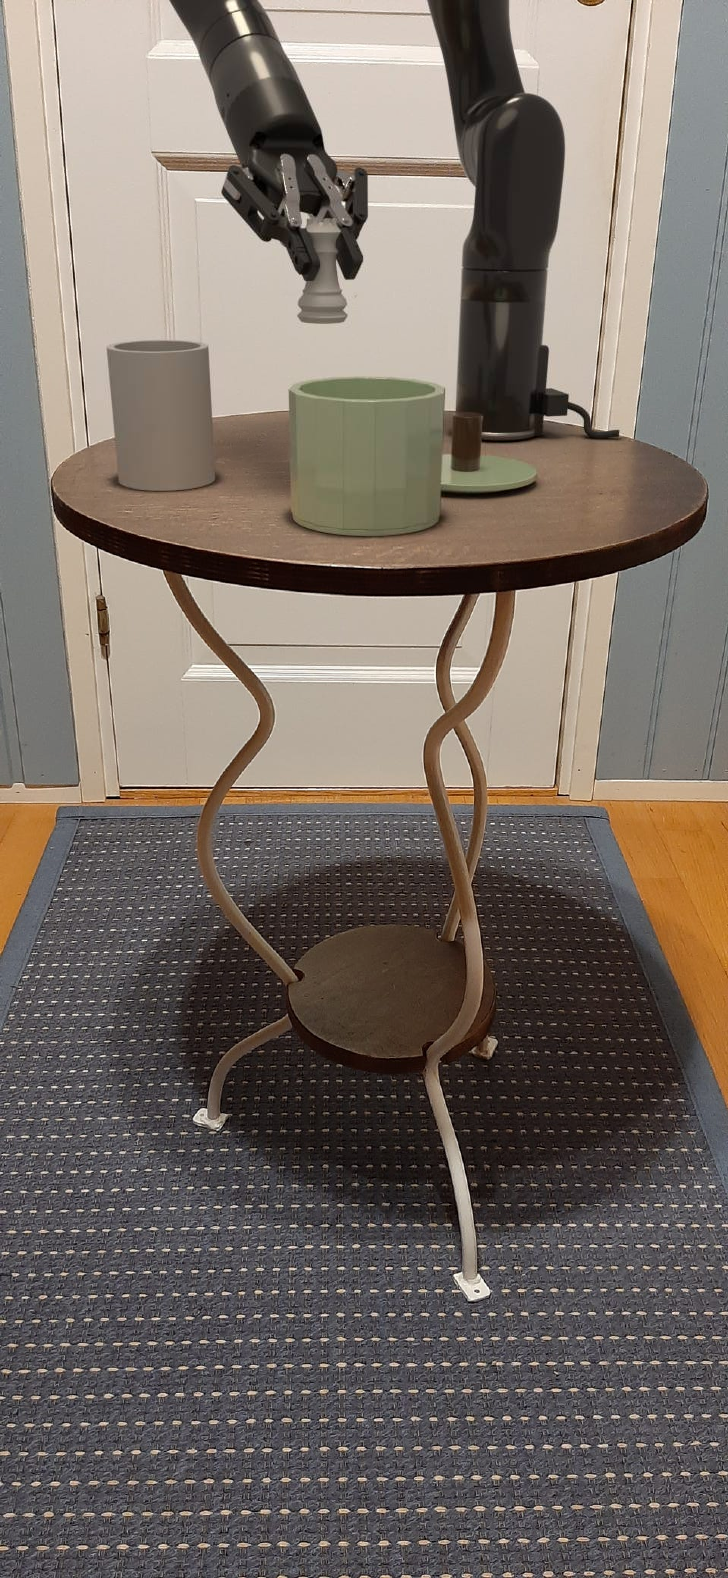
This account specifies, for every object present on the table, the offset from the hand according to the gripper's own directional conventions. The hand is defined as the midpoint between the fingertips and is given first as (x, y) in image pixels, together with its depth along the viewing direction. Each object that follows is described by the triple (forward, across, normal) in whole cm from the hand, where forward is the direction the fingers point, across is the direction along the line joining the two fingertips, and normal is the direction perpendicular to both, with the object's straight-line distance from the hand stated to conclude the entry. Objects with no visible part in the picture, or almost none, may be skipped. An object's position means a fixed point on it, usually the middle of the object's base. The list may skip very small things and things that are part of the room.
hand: (333, 272), depth 97 cm
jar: (+19, -2, +7) cm, 20 cm away
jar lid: (+14, +14, +12) cm, 22 cm away
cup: (+4, -11, +22) cm, 25 cm away
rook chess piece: (+2, 0, +4) cm, 5 cm away
